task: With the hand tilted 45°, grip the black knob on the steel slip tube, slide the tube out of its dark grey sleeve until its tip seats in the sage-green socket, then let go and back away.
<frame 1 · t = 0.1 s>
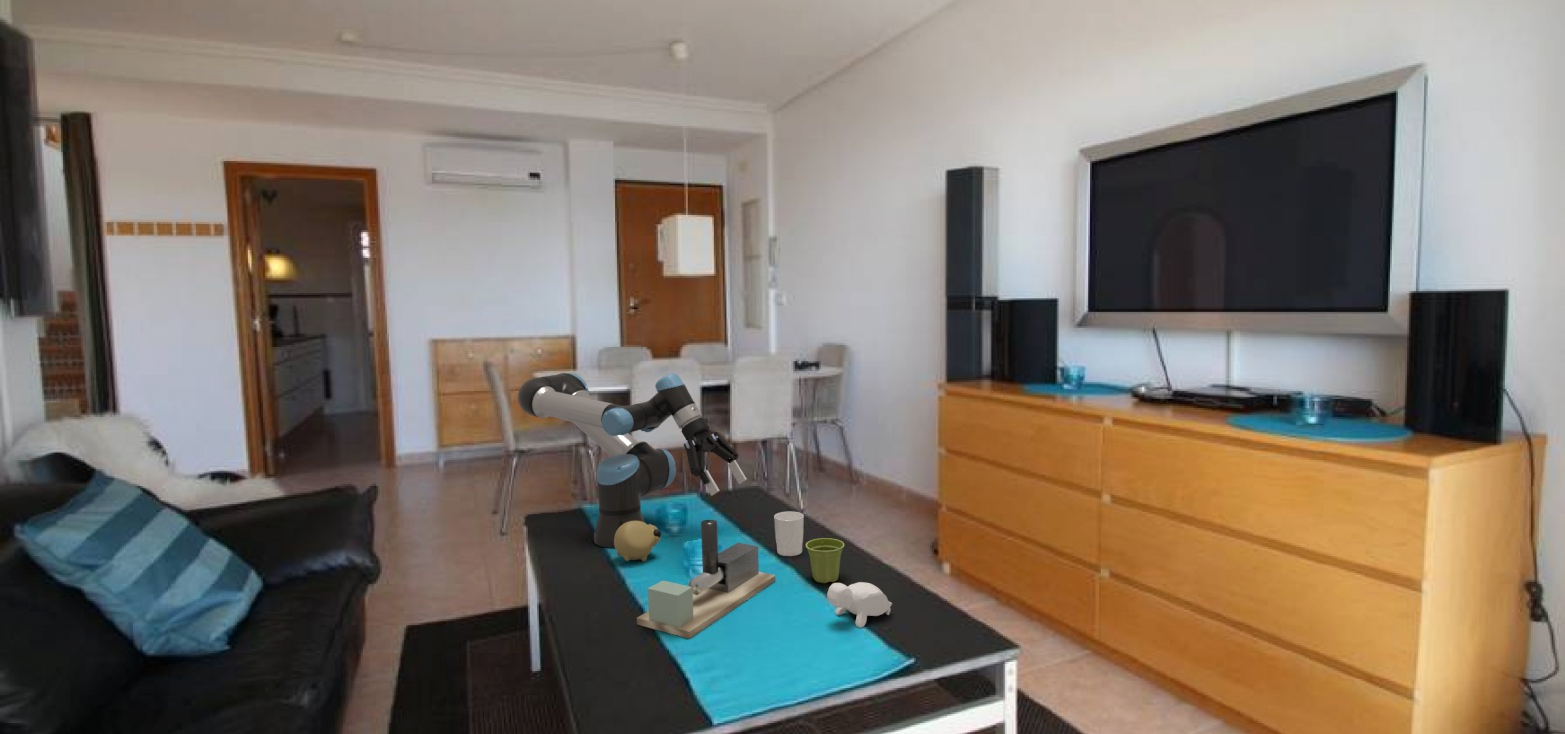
hand: (729, 487, 213), 15 cm above the table, tool tilted 35°, fingers open, 13 cm apart
outer sleeve: (734, 586, 182), resting on birch base board
socket block: (671, 625, 162), resting on birch base board
toy pig: (638, 560, 202), on the table
birch base board: (710, 601, 174), on the table
plant pot: (825, 579, 186), on the table
white turtle figurine: (857, 618, 164), on the table
white cup: (789, 552, 205), on the table
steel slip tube: (721, 547, 177), point 11 cm above the table, slide at 0.0 cm
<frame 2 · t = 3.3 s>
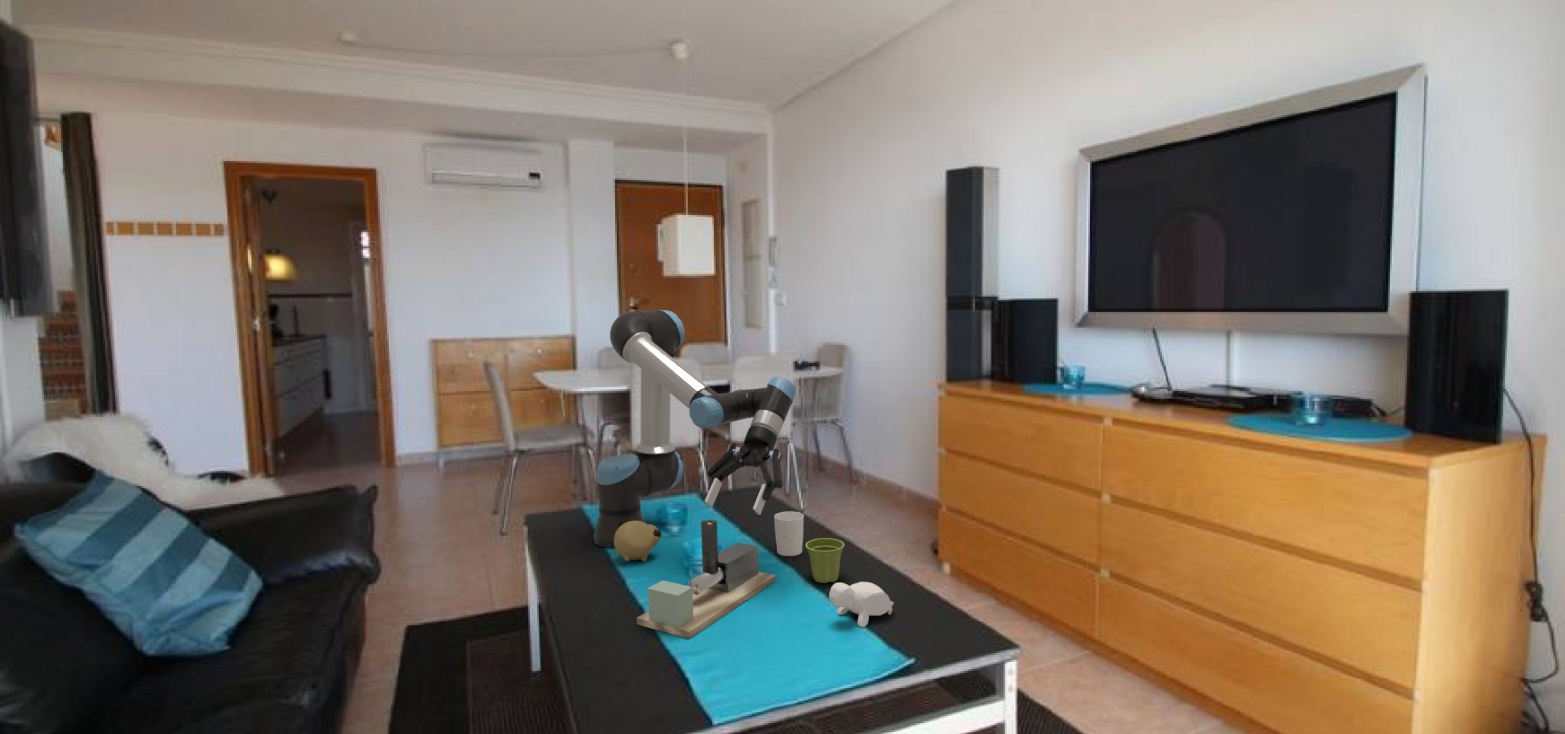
hand: (731, 508, 178), 20 cm above the table, tool tilted 45°, fingers open, 13 cm apart
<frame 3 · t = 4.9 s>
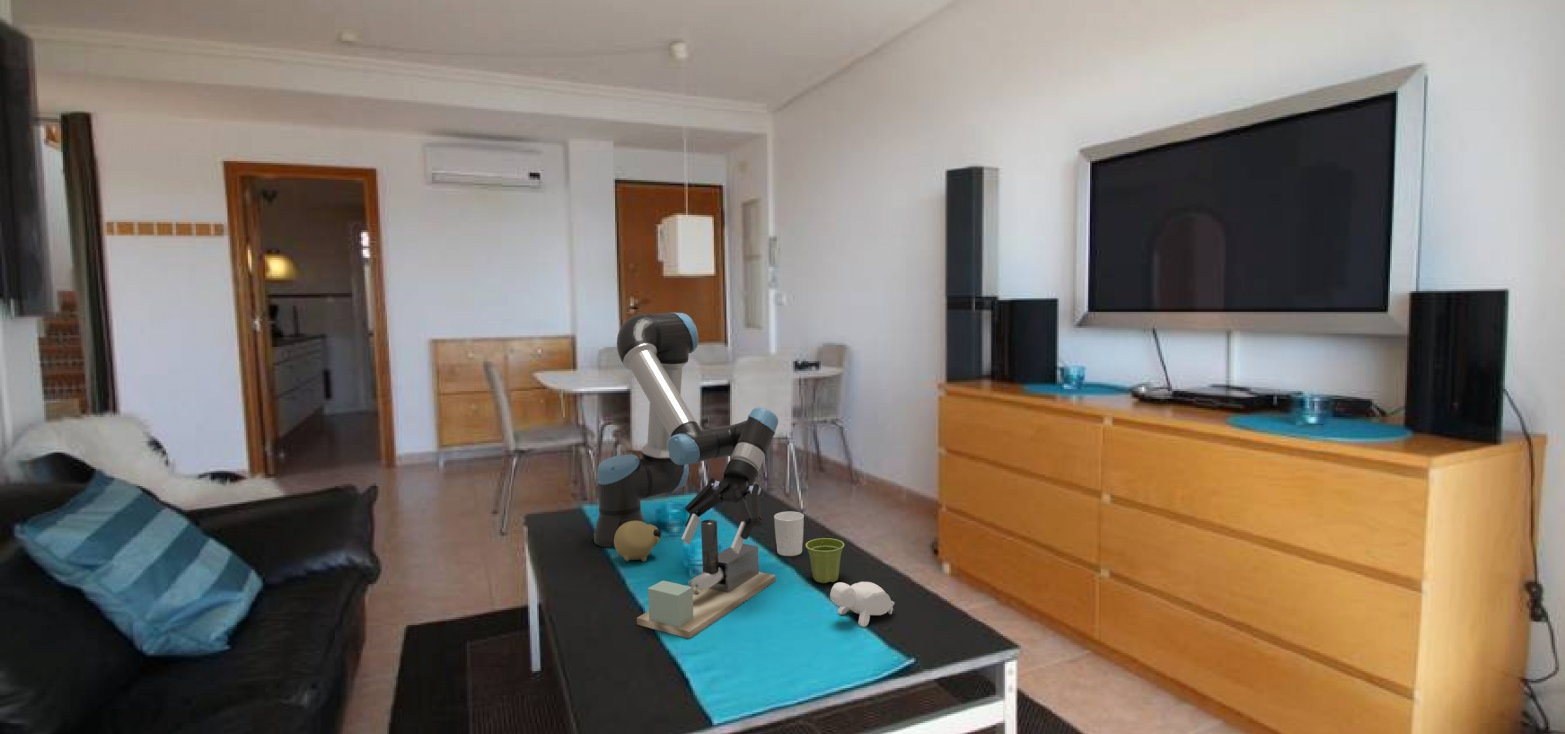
hand: (709, 546, 172), 13 cm above the table, tool tilted 45°, fingers open, 13 cm apart
nothing on the table moved.
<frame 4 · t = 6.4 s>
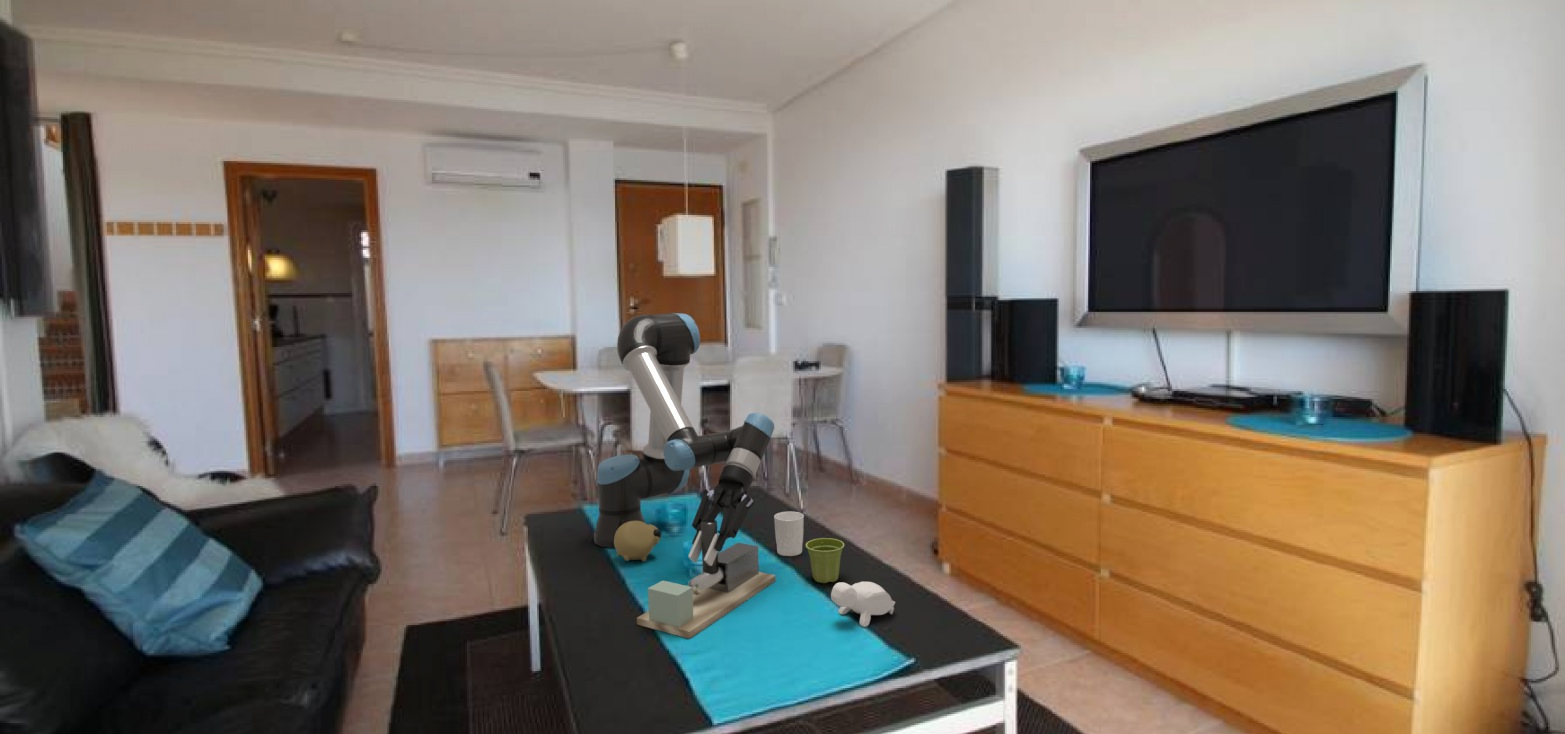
hand: (700, 561, 170), 11 cm above the table, tool tilted 45°, fingers closed on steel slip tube, 4 cm apart
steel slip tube: (721, 547, 177), point 11 cm above the table, slide at 0.0 cm, touching gripper
everything else where it was.
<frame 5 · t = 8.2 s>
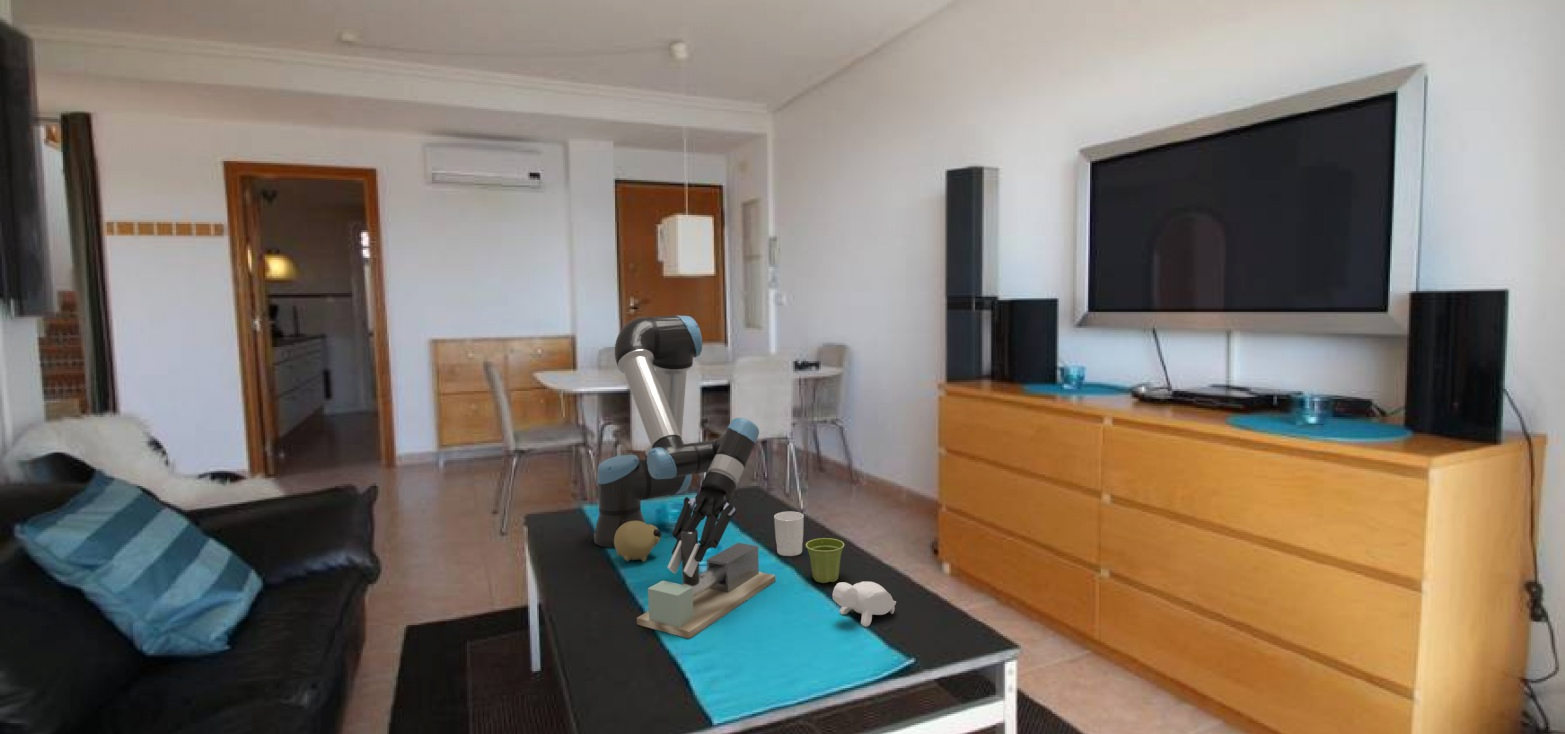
hand: (679, 572, 164), 11 cm above the table, tool tilted 45°, fingers closed on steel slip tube, 4 cm apart
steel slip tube: (702, 557, 171), point 11 cm above the table, slide at 7.3 cm, touching gripper
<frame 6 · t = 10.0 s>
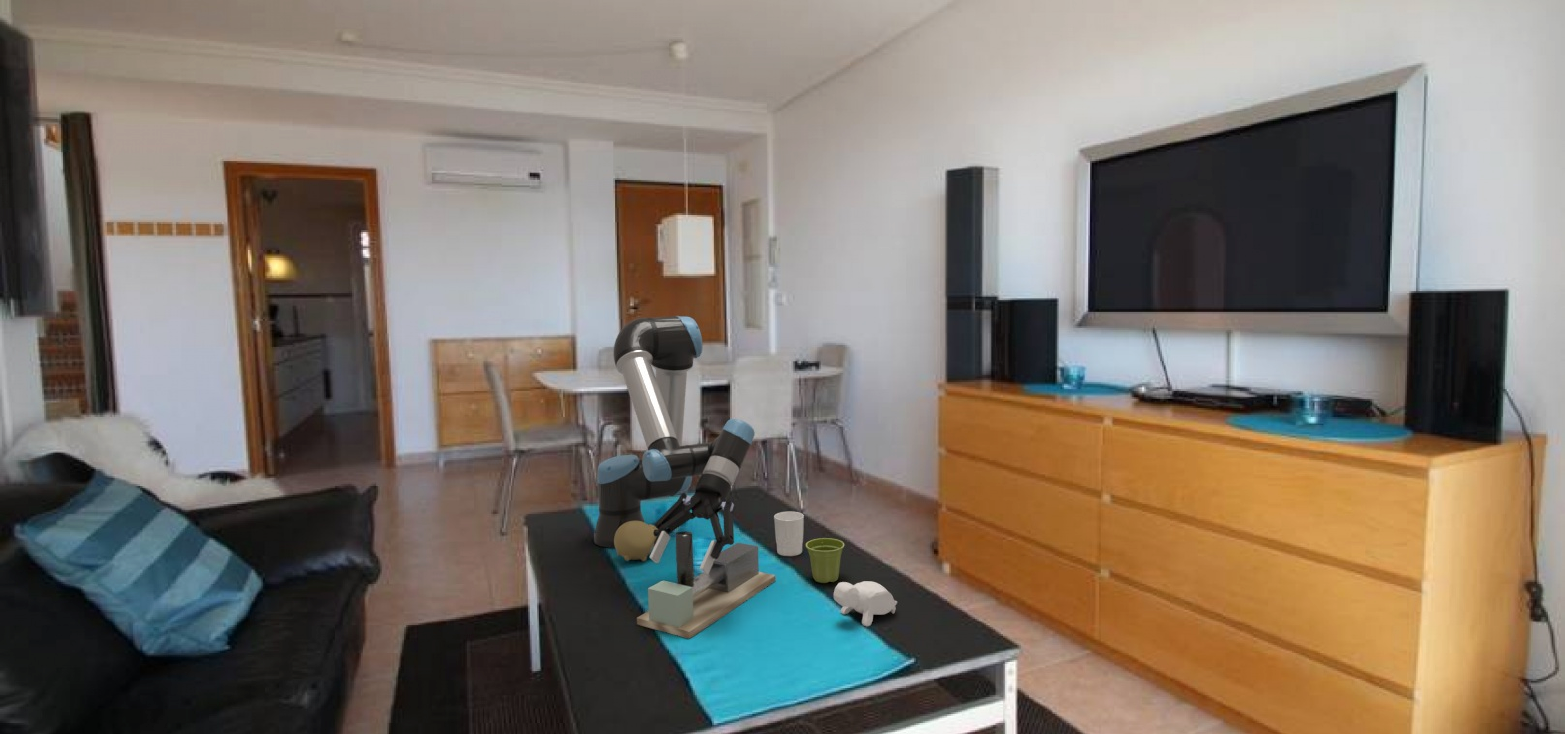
hand: (678, 565, 163), 12 cm above the table, tool tilted 45°, fingers open, 13 cm apart
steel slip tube: (697, 560, 169), point 11 cm above the table, slide at 9.2 cm
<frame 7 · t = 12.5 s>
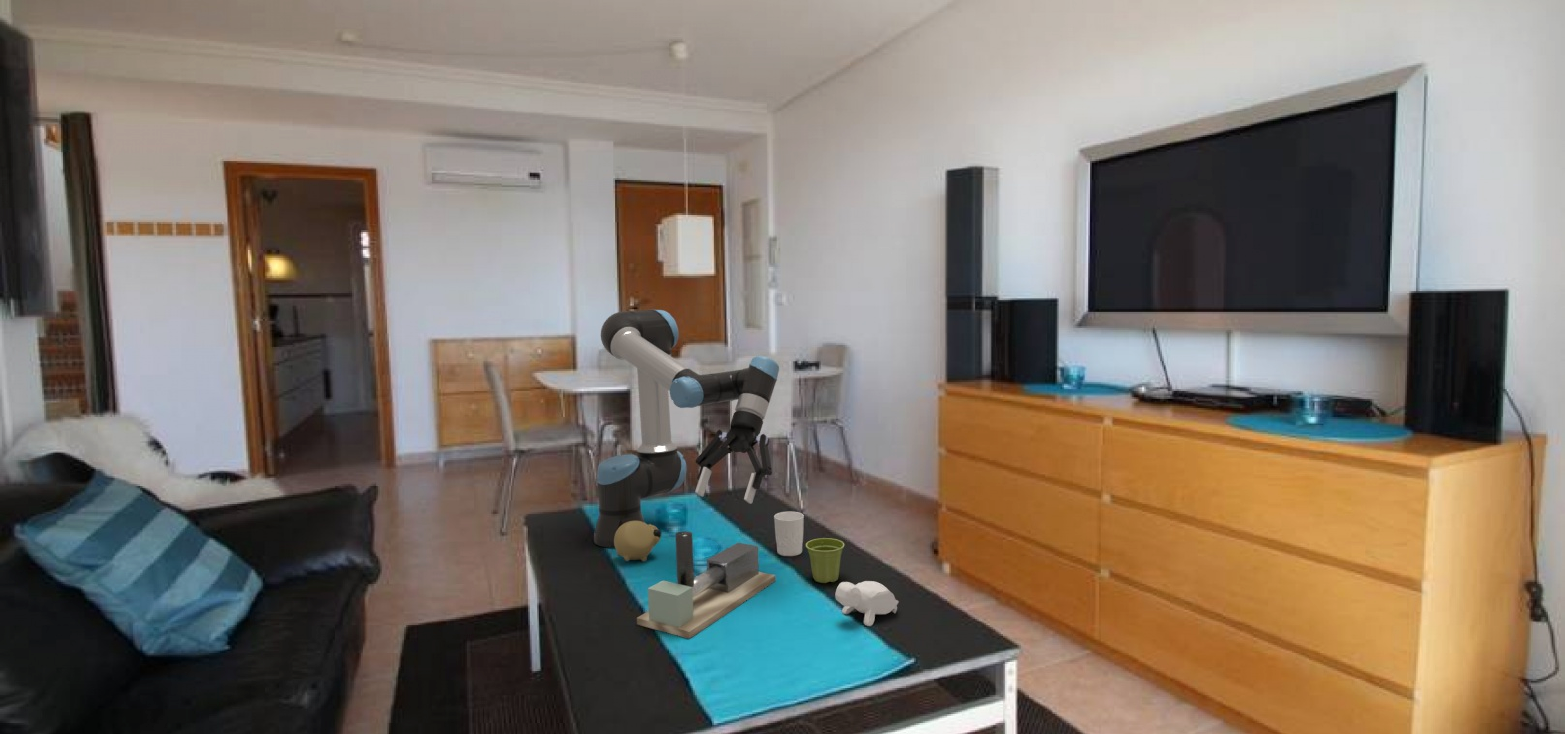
hand: (722, 498, 178), 22 cm above the table, tool tilted 35°, fingers open, 13 cm apart
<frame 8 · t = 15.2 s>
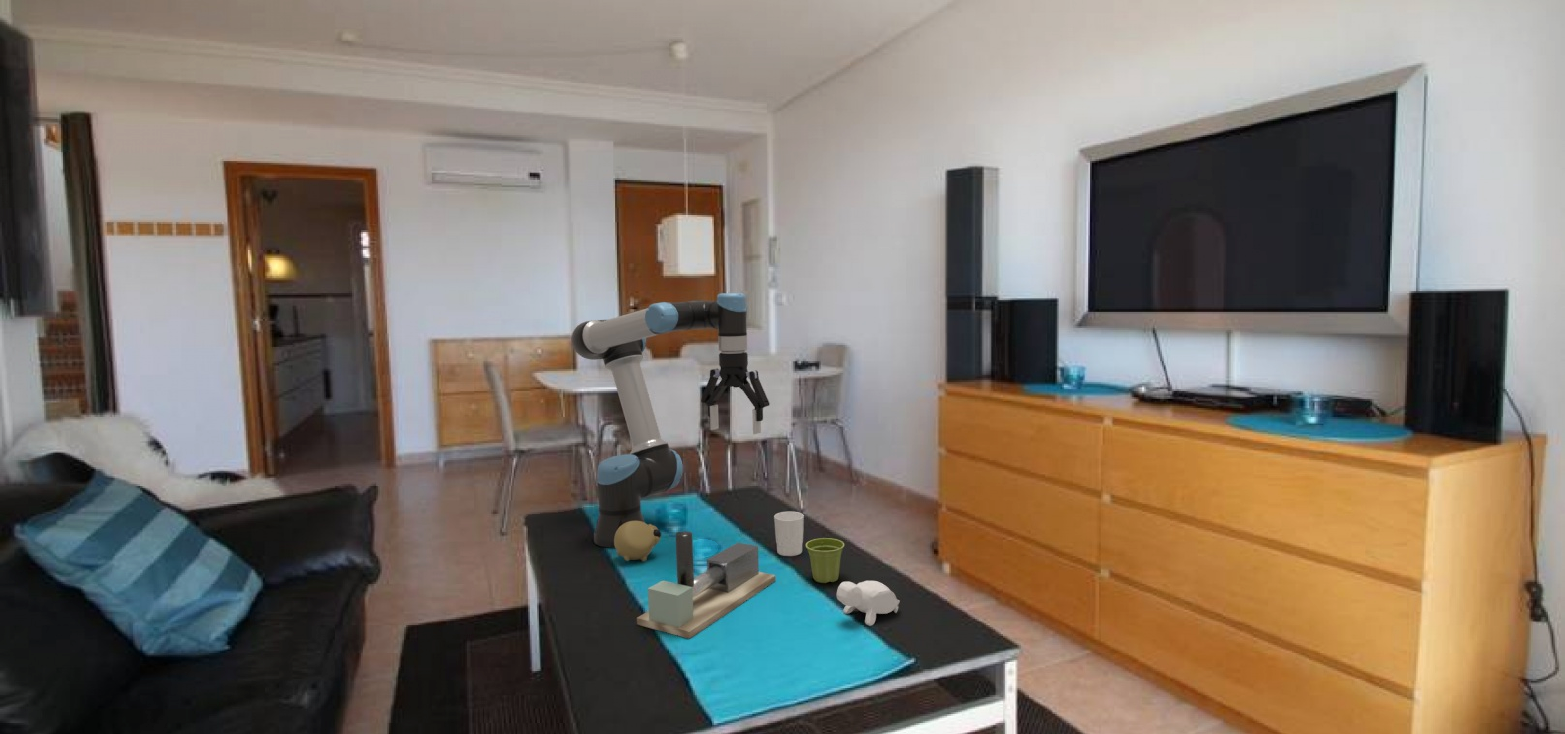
hand: (735, 431, 203), 33 cm above the table, tool pointing down, fingers open, 13 cm apart
at the end: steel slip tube slide at 9.2 cm; the gripper is holding nothing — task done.
